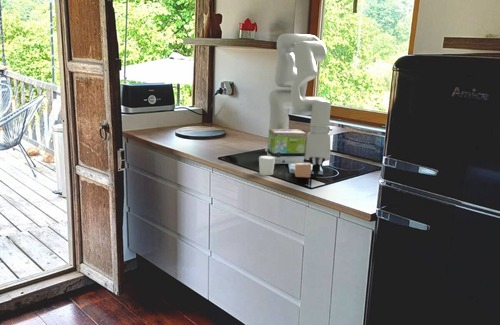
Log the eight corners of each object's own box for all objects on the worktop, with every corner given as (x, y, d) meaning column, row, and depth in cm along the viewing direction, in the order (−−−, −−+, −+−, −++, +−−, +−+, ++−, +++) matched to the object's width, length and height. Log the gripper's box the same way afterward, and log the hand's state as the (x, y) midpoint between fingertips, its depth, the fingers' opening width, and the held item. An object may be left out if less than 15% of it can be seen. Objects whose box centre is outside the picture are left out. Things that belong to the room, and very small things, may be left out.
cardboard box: (294, 173, 195) (295, 161, 193) (308, 174, 195) (309, 162, 193) (295, 176, 190) (296, 164, 188) (310, 177, 190) (311, 165, 188)
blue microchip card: (288, 166, 206) (288, 162, 205) (319, 167, 206) (319, 164, 205) (289, 172, 195) (289, 169, 195) (322, 174, 195) (323, 170, 195)
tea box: (273, 164, 207) (275, 132, 204) (266, 159, 217) (268, 128, 213) (304, 164, 211) (306, 132, 208) (296, 158, 221) (298, 128, 217)
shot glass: (264, 176, 188) (265, 159, 186) (254, 172, 194) (255, 156, 192) (277, 174, 192) (278, 158, 190) (267, 170, 198) (268, 154, 196)
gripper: (336, 129, 191) (332, 171, 195) (300, 127, 191) (297, 170, 195) (339, 132, 184) (335, 176, 188) (301, 130, 184) (298, 174, 188)
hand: (315, 173), depth 192 cm, fingers closed
